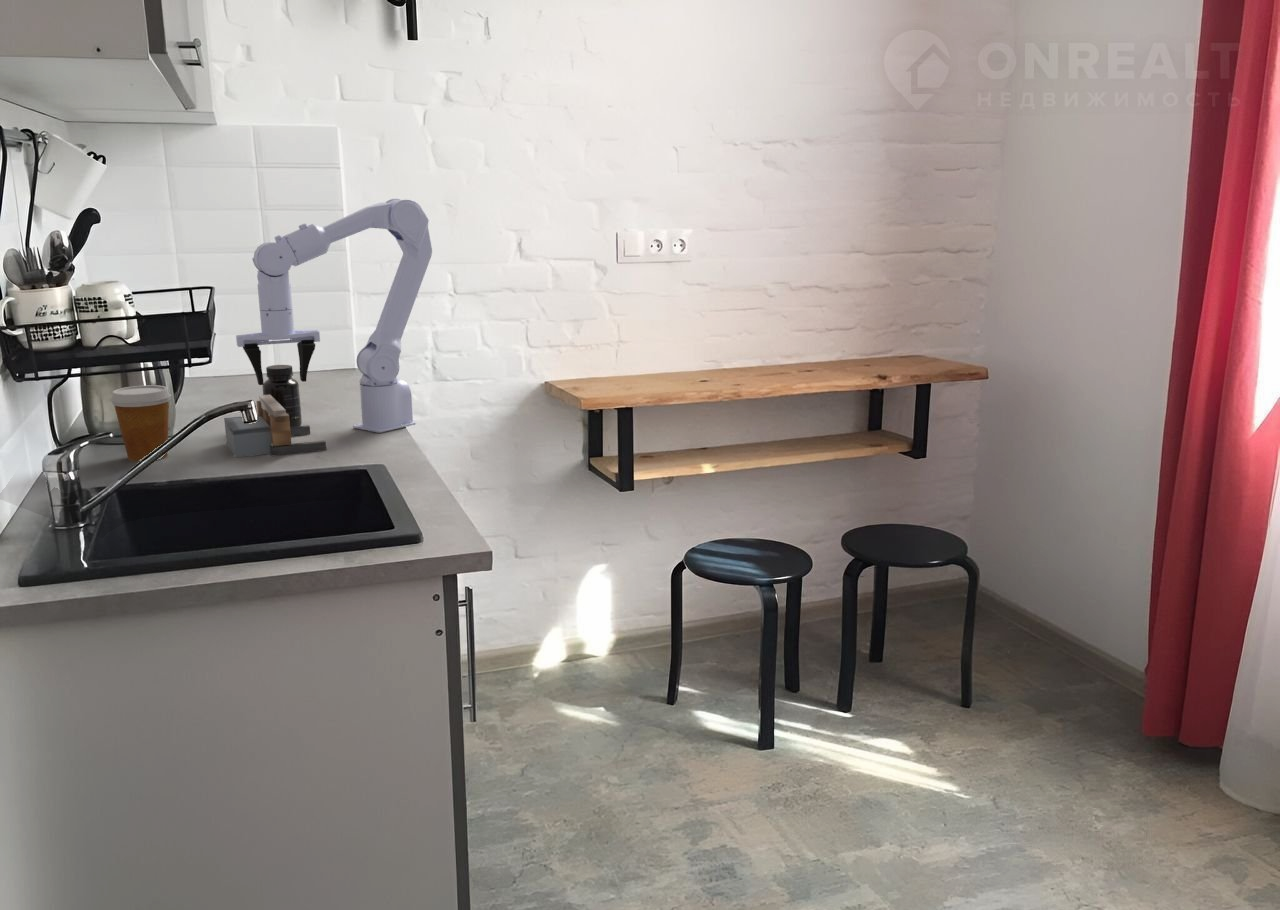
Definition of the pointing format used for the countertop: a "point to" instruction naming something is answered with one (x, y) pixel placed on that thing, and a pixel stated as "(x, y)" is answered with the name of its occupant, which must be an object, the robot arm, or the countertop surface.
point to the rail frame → (298, 446)
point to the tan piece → (275, 419)
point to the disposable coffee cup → (142, 418)
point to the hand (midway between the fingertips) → (282, 382)
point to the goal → (247, 437)
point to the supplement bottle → (284, 391)
